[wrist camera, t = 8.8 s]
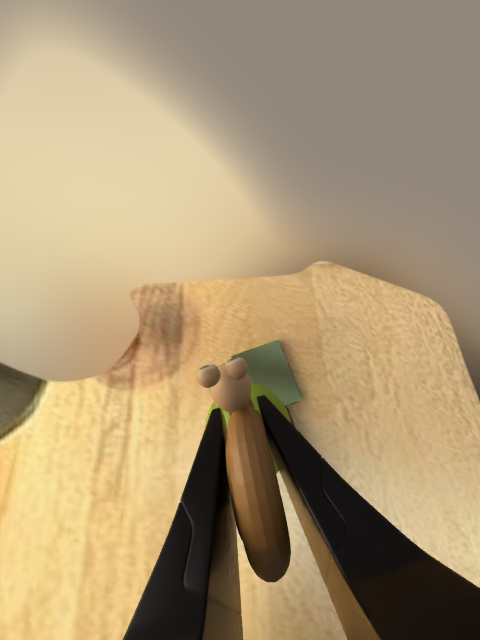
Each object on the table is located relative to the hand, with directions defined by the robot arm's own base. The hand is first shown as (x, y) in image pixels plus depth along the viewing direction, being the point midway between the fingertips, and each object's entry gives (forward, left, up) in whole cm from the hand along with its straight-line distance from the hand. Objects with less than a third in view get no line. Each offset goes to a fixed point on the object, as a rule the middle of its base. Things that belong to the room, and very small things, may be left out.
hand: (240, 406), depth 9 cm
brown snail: (-1, 0, -7) cm, 7 cm away
